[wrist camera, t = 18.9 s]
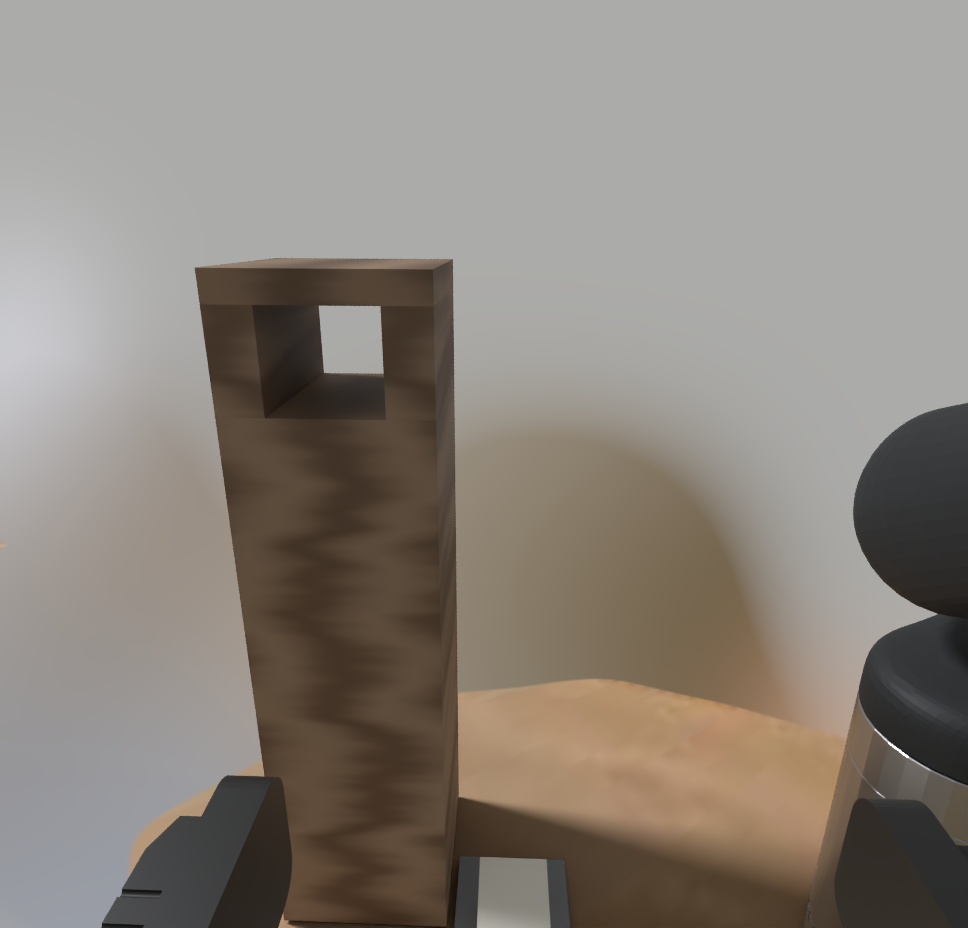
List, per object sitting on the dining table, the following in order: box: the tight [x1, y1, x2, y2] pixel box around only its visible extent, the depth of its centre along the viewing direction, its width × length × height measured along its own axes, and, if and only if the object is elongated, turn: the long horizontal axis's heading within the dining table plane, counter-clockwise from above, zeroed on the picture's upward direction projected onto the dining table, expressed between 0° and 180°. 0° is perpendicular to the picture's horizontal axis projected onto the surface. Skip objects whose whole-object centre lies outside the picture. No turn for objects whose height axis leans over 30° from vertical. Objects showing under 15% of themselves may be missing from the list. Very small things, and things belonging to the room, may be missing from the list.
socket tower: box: [195, 258, 459, 927], centre depth 38 cm, size 10×10×38 cm
